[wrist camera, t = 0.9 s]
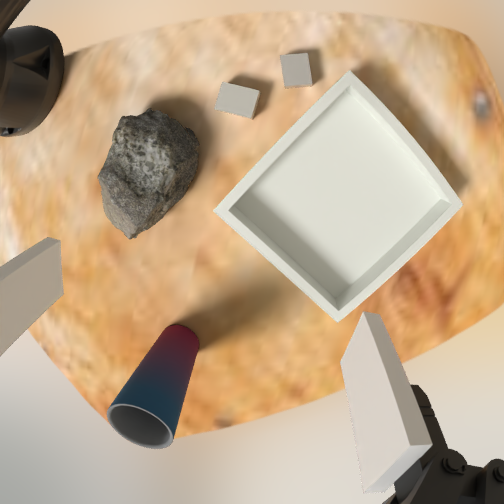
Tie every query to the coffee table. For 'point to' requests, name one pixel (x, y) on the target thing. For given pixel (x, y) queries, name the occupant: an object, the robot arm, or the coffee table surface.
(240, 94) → the grey small block
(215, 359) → the coffee table surface
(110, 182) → the rock
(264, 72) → the coffee table surface
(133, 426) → the cup
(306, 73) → the chip
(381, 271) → the bin
